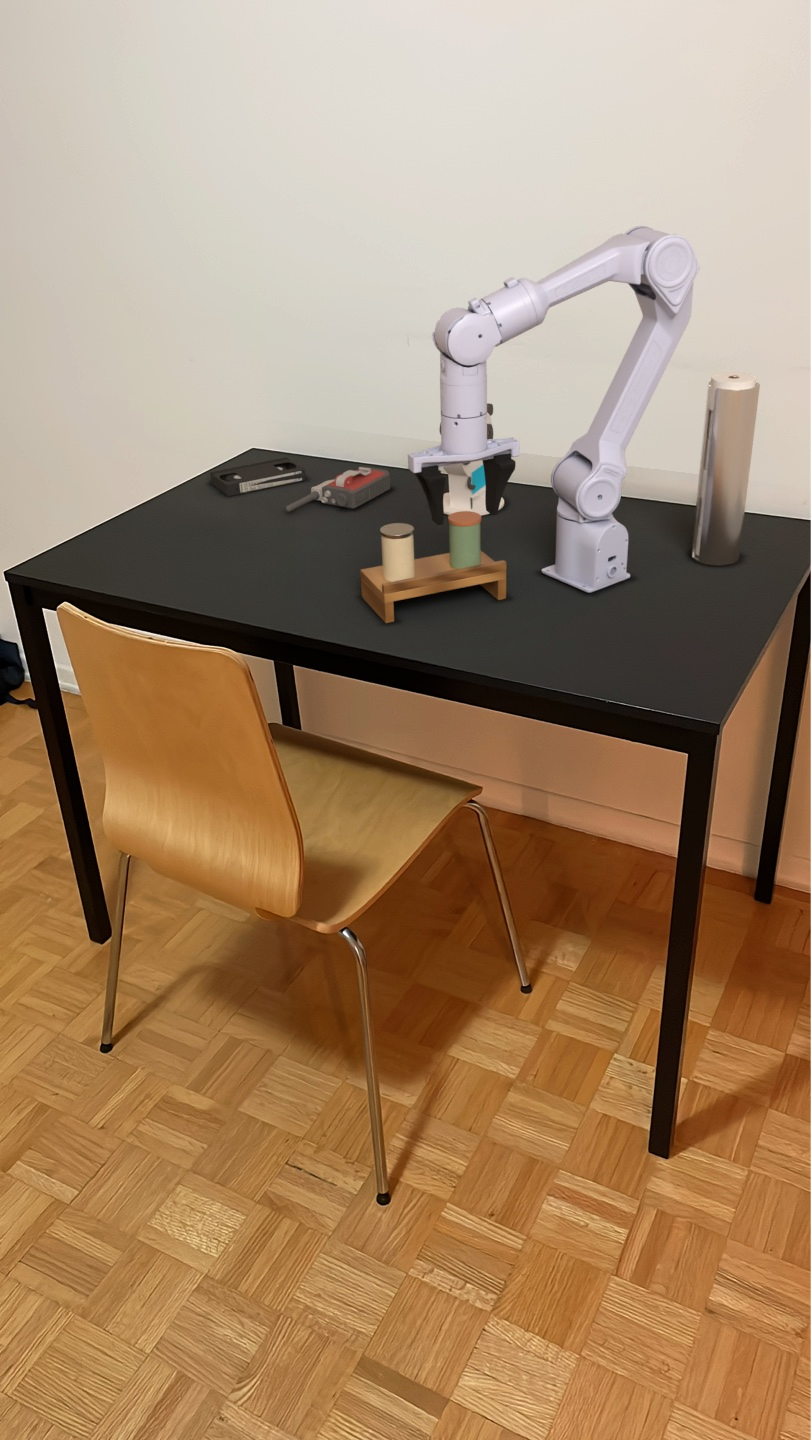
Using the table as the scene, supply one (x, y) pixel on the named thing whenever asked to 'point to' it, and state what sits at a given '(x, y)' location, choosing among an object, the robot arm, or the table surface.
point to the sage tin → (464, 539)
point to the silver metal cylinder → (724, 467)
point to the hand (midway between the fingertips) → (465, 517)
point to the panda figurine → (468, 482)
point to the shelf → (430, 582)
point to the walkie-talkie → (348, 488)
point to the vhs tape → (257, 476)
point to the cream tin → (397, 551)
